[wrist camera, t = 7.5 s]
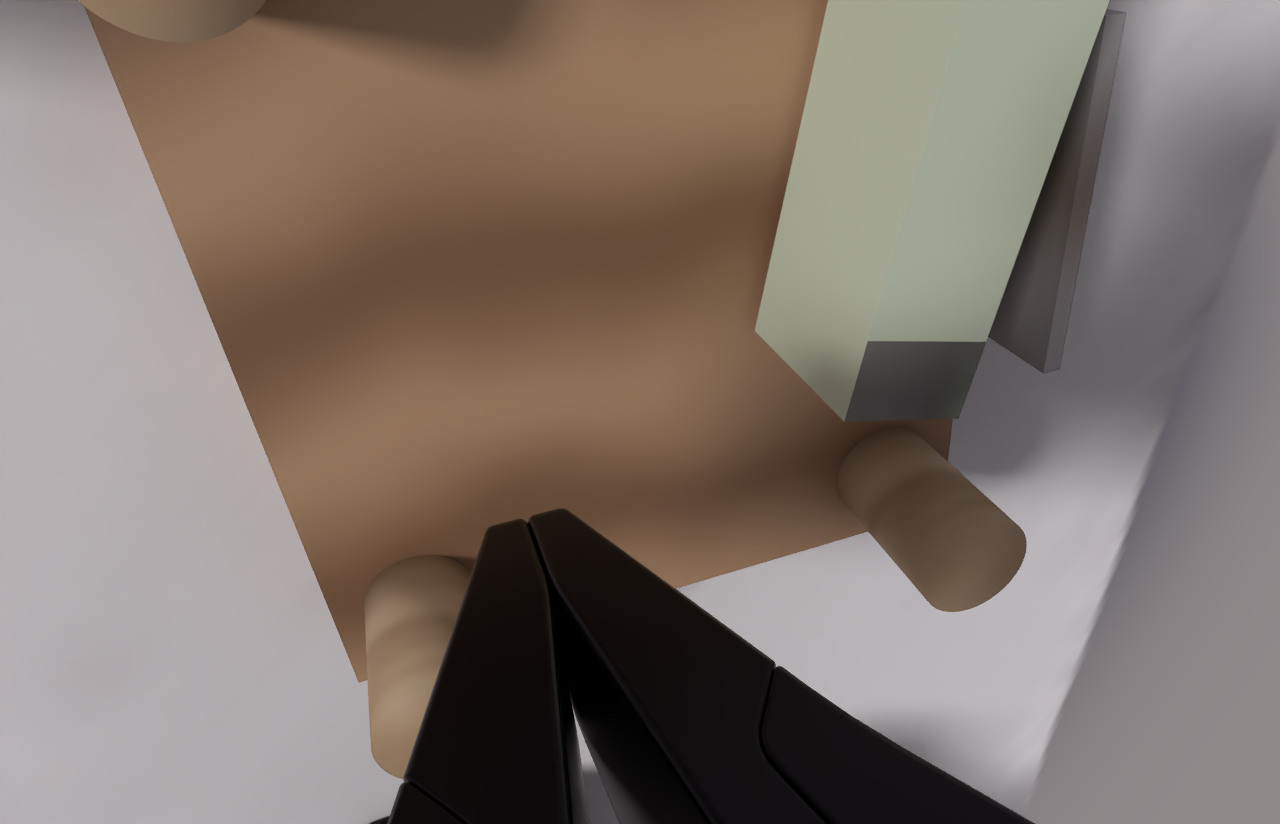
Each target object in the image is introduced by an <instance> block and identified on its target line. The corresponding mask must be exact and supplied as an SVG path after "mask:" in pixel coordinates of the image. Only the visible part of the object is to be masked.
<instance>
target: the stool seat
mask: <svg viewBox="0 0 1280 824" xmlns="http://www.w3.org/2000/svg"><path fill="white" fill-rule="evenodd" d="M77 1H79V2H80V3H81V4H82V5H83V6H84V7H85V9H86V12H87V14H88V16H89V19H90V21H91V24H92V26H93V29H94V31H95V34H96V36H97V39H98V41H99V44H100V46H101V49H102V51H103V53H104V56H105V58H106V61H107V63H108V66H109V68H110V71H111V73H112V76H113V78H114V81H115V83H116V85H117V88H118V90H119V93H120V95H121V98H122V100H123V103H124V105H125V108H126V110H127V113H128V115H129V117H130V120H131V122H132V125H133V127H134V130H135V132H136V135H137V137H138V140H139V142H140V145H141V147H142V150H143V152H144V154H145V157H146V159H147V162H148V164H149V167H150V169H151V172H152V174H153V177H154V179H155V182H156V184H157V186H158V189H159V191H160V194H161V196H162V199H163V201H164V204H165V206H166V209H167V211H168V214H169V216H170V218H171V221H172V223H173V226H174V228H175V231H176V233H177V236H178V238H179V241H180V243H181V246H182V248H183V251H184V253H185V255H186V258H187V260H188V263H189V265H190V268H191V270H192V273H193V275H194V278H195V280H196V283H197V285H198V287H199V290H200V292H201V295H202V297H203V300H204V302H205V305H206V307H207V310H208V312H209V315H210V317H211V319H212V322H213V324H214V327H215V329H216V332H217V334H218V337H219V339H220V342H221V344H222V347H223V349H224V351H225V354H226V356H227V359H228V361H229V364H230V366H231V369H232V371H233V374H234V376H235V379H236V381H237V384H238V386H239V388H240V391H241V393H242V396H243V398H244V401H245V403H246V406H247V408H248V411H249V413H250V416H251V418H252V420H253V423H254V425H255V428H256V430H257V433H258V435H259V438H260V440H261V443H262V445H263V448H264V450H265V452H266V455H267V457H268V460H269V462H270V465H271V467H272V470H273V472H274V475H275V477H276V480H277V482H278V485H279V487H280V489H281V492H282V494H283V497H284V499H285V502H286V504H287V507H288V509H289V512H290V514H291V517H292V519H293V521H294V524H295V526H296V529H297V531H298V534H299V536H300V539H301V541H302V544H303V546H304V549H305V551H306V553H307V556H308V558H309V561H310V563H311V566H312V568H313V571H314V573H315V576H316V578H317V581H318V583H319V586H320V588H321V590H322V593H323V595H324V598H325V600H326V603H327V605H328V608H329V610H330V613H331V615H332V618H333V620H334V622H335V625H336V627H337V630H338V632H339V635H340V637H341V640H342V642H343V645H344V647H345V650H346V652H347V654H348V657H349V659H350V662H351V664H352V667H353V669H354V672H355V674H356V677H357V679H358V682H362V681H365V680H368V696H369V716H370V737H371V751H372V754H373V757H374V759H375V761H376V763H377V764H378V765H379V766H380V767H381V768H382V769H383V770H384V771H386V772H387V773H389V774H391V775H393V776H395V777H398V778H401V779H403V777H404V774H405V771H406V768H407V765H408V762H409V759H410V756H411V753H412V750H413V747H414V744H415V741H416V738H417V735H418V732H419V729H420V726H421V723H422V720H423V717H424V714H425V711H426V708H427V705H428V702H429V699H430V696H431V693H432V690H433V687H434V684H435V681H436V678H437V675H438V672H439V669H440V666H441V663H442V660H443V657H444V654H445V651H446V648H447V645H448V642H449V639H450V636H451V633H452V630H453V627H454V624H455V621H456V618H457V615H458V612H459V609H460V606H461V603H462V600H463V597H464V594H465V591H466V588H467V585H468V582H469V579H470V576H471V573H472V570H473V567H474V564H475V561H476V558H477V555H478V552H479V549H480V546H481V543H482V540H483V537H484V534H485V532H486V530H487V528H488V527H490V526H492V525H495V524H499V523H503V522H507V521H511V520H515V519H520V518H521V519H524V520H525V521H526V522H527V524H528V519H529V517H530V516H532V515H535V514H539V513H542V512H546V511H550V510H554V509H558V508H564V509H567V510H569V511H570V512H571V513H573V514H574V515H576V516H577V517H578V518H580V519H581V520H582V521H584V522H585V523H586V524H588V525H589V526H591V527H592V528H593V529H595V530H596V531H597V532H599V533H600V534H601V535H603V536H604V537H606V538H607V539H608V540H610V541H611V542H612V543H614V544H615V545H616V546H618V547H619V548H620V549H622V550H623V551H625V552H626V553H627V554H629V555H630V556H631V557H633V558H634V559H635V560H637V561H638V562H640V563H641V564H642V565H644V566H645V567H646V568H648V569H649V570H650V571H652V572H653V573H655V574H656V575H657V576H659V577H660V578H661V579H663V580H664V581H665V582H667V583H668V584H669V585H671V586H672V587H674V588H675V589H676V588H679V587H682V586H686V585H689V584H692V583H696V582H699V581H702V580H706V579H709V578H713V577H716V576H719V575H723V574H726V573H729V572H733V571H736V570H740V569H743V568H746V567H750V566H753V565H756V564H760V563H763V562H767V561H770V560H773V559H777V558H780V557H783V556H787V555H790V554H793V553H797V552H800V551H804V550H807V549H810V548H814V547H817V546H820V545H824V544H827V543H831V542H834V541H837V540H841V539H844V538H847V537H851V536H854V535H858V534H861V533H864V532H868V531H869V533H870V534H871V535H872V536H873V537H874V539H875V540H876V541H877V542H878V543H879V544H880V546H881V547H882V548H883V549H884V550H885V551H886V553H887V554H888V555H889V556H890V557H891V558H892V560H893V561H894V562H895V563H896V564H897V566H898V567H899V568H900V569H901V570H902V571H903V573H904V574H905V575H906V576H907V577H908V578H909V580H910V581H911V582H912V583H913V584H914V585H915V587H916V588H917V589H918V590H919V591H920V593H921V594H922V595H923V596H924V597H925V598H926V600H927V601H928V602H929V603H930V604H931V605H932V606H933V607H935V608H936V609H939V610H941V611H946V612H958V611H963V610H967V609H970V608H973V607H976V606H978V605H980V604H982V603H984V602H986V601H987V600H989V599H990V598H992V597H993V596H995V595H996V594H997V593H999V592H1000V591H1001V590H1002V589H1003V588H1004V587H1005V586H1006V585H1007V584H1008V583H1009V582H1010V581H1011V580H1012V578H1013V577H1014V576H1015V574H1016V573H1017V571H1018V570H1019V568H1020V566H1021V564H1022V562H1023V559H1024V556H1025V553H1026V537H1025V534H1024V532H1023V531H1022V529H1021V528H1020V527H1019V526H1018V525H1017V524H1016V523H1015V522H1014V521H1012V520H1011V519H1010V518H1009V517H1008V516H1007V515H1006V514H1005V513H1004V512H1003V511H1002V510H1000V509H999V508H998V507H997V506H996V505H995V504H994V503H993V502H992V501H991V500H989V499H988V498H987V497H986V496H985V495H984V494H983V493H982V492H981V491H980V490H978V489H977V488H976V487H975V486H974V485H973V484H972V483H971V482H970V481H969V480H967V479H966V478H965V477H964V476H963V475H962V474H961V473H960V472H959V471H958V470H956V469H955V468H954V467H953V466H952V465H951V464H950V463H949V462H948V454H949V445H950V436H951V428H952V419H920V420H887V421H853V422H844V421H843V420H842V419H841V418H840V417H839V416H838V415H837V414H836V413H835V412H834V411H833V410H832V409H831V408H830V407H829V406H828V405H827V404H826V403H825V402H824V401H823V400H822V399H821V398H820V397H819V396H818V395H817V394H816V393H815V392H814V391H813V389H812V388H811V387H810V386H809V385H808V384H807V383H806V382H805V381H804V380H803V379H802V378H801V377H800V376H799V375H798V374H797V373H796V372H795V371H794V370H793V369H792V368H791V367H790V366H789V365H788V364H787V363H786V362H785V361H784V360H783V359H782V358H781V357H780V356H779V355H778V354H777V353H776V352H775V351H774V350H773V349H772V348H771V347H770V346H769V345H768V344H767V343H766V342H765V341H764V340H763V339H762V338H761V337H760V336H759V335H758V334H757V333H756V332H755V327H756V322H757V318H758V313H759V309H760V304H761V300H762V295H763V291H764V286H765V282H766V277H767V273H768V268H769V264H770V259H771V255H772V250H773V246H774V241H775V237H776V232H777V228H778V223H779V219H780V214H781V210H782V205H783V201H784V196H785V192H786V187H787V183H788V178H789V174H790V169H791V165H792V160H793V156H794V151H795V147H796V142H797V138H798V133H799V129H800V124H801V120H802V115H803V111H804V107H805V102H806V98H807V93H808V89H809V84H810V80H811V75H812V71H813V66H814V62H815V57H816V53H817V48H818V44H819V39H820V35H821V30H822V26H823V21H824V17H825V12H826V8H827V3H828V0H77ZM1125 16H1126V12H1120V11H1113V10H1106V12H1105V15H1104V17H1103V20H1102V23H1101V26H1100V28H1099V31H1098V34H1097V37H1096V39H1095V42H1094V45H1093V48H1092V50H1091V53H1090V56H1089V59H1088V62H1087V64H1086V67H1085V70H1084V73H1083V75H1082V78H1081V81H1080V84H1079V86H1078V89H1077V92H1076V95H1075V97H1074V100H1073V103H1072V106H1071V108H1070V111H1069V114H1068V117H1067V120H1066V122H1065V125H1064V128H1063V131H1062V133H1061V136H1060V139H1059V142H1058V144H1057V147H1056V150H1055V153H1054V155H1053V158H1052V161H1051V164H1050V167H1049V169H1048V172H1047V175H1046V178H1045V180H1044V183H1043V186H1042V189H1041V191H1040V194H1039V197H1038V200H1037V202H1036V205H1035V208H1034V211H1033V213H1032V216H1031V219H1030V222H1029V225H1028V227H1027V230H1026V233H1025V236H1024V238H1023V241H1022V244H1021V247H1020V249H1019V252H1018V255H1017V258H1016V260H1015V263H1014V266H1013V269H1012V272H1011V274H1010V277H1009V280H1008V283H1007V285H1006V288H1005V291H1004V294H1003V296H1002V299H1001V302H1000V305H999V307H998V310H997V313H996V316H995V318H994V321H993V324H992V327H991V330H990V332H989V335H988V337H990V338H991V339H993V340H994V341H996V342H997V343H999V344H1000V345H1002V346H1003V347H1005V348H1006V349H1008V350H1009V351H1011V352H1012V353H1014V354H1015V355H1017V356H1018V357H1020V358H1021V359H1023V360H1024V361H1026V362H1027V363H1029V364H1030V365H1032V366H1033V367H1035V368H1036V369H1038V370H1039V371H1041V372H1042V373H1047V372H1050V371H1054V370H1058V369H1060V364H1061V358H1062V353H1063V348H1064V342H1065V337H1066V332H1067V326H1068V321H1069V316H1070V310H1071V305H1072V300H1073V294H1074V289H1075V284H1076V278H1077V273H1078V267H1079V262H1080V257H1081V251H1082V246H1083V241H1084V235H1085V230H1086V225H1087V219H1088V214H1089V209H1090V203H1091V198H1092V193H1093V187H1094V182H1095V177H1096V171H1097V166H1098V161H1099V155H1100V150H1101V145H1102V139H1103V134H1104V128H1105V123H1106V118H1107V112H1108V107H1109V102H1110V96H1111V91H1112V86H1113V80H1114V75H1115V70H1116V64H1117V59H1118V54H1119V48H1120V43H1121V38H1122V32H1123V27H1124V22H1125Z"/></svg>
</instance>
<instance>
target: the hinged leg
mask: <svg viewBox="0 0 1280 824" xmlns="http://www.w3.org/2000/svg"><path fill="white" fill-rule="evenodd" d="M1109 1H1110V0H828V3H827V8H826V12H825V17H824V21H823V26H822V30H821V35H820V39H819V44H818V48H817V53H816V57H815V62H814V66H813V71H812V75H811V80H810V84H809V89H808V93H807V98H806V102H805V107H804V111H803V115H802V120H801V124H800V129H799V133H798V138H797V142H796V147H795V151H794V156H793V160H792V165H791V169H790V174H789V178H788V183H787V187H786V192H785V196H784V201H783V205H782V210H781V214H780V219H779V223H778V228H777V232H776V237H775V241H774V246H773V250H772V255H771V259H770V264H769V268H768V273H767V277H766V282H765V286H764V291H763V295H762V300H761V304H760V309H759V313H758V318H757V322H756V327H755V332H756V333H757V334H758V335H759V336H760V337H761V338H762V339H763V340H764V341H765V342H766V343H767V344H768V345H769V346H770V347H771V348H772V349H773V350H774V351H775V352H776V353H777V354H778V355H779V356H780V357H781V358H782V359H783V360H784V361H785V362H786V363H787V364H788V365H789V366H790V367H791V368H792V369H793V370H794V371H795V372H796V373H797V374H798V375H799V376H800V377H801V378H802V379H803V380H804V381H805V382H806V383H807V384H808V385H809V386H810V387H811V388H812V389H813V391H814V392H815V393H816V394H817V395H818V396H819V397H820V398H821V399H822V400H823V401H824V402H825V403H826V404H827V405H828V406H829V407H830V408H831V409H832V410H833V411H834V412H835V413H836V414H837V415H838V416H839V417H840V418H841V419H842V420H843V421H844V422H853V421H887V420H920V419H954V418H959V415H960V412H961V410H962V407H963V404H964V401H965V399H966V396H967V393H968V390H969V388H970V385H971V382H972V379H973V377H974V374H975V371H976V368H977V365H978V363H979V360H980V357H981V354H982V352H983V349H984V346H985V343H986V341H987V338H988V335H989V332H990V330H991V327H992V324H993V321H994V318H995V316H996V313H997V310H998V307H999V305H1000V302H1001V299H1002V296H1003V294H1004V291H1005V288H1006V285H1007V283H1008V280H1009V277H1010V274H1011V272H1012V269H1013V266H1014V263H1015V260H1016V258H1017V255H1018V252H1019V249H1020V247H1021V244H1022V241H1023V238H1024V236H1025V233H1026V230H1027V227H1028V225H1029V222H1030V219H1031V216H1032V213H1033V211H1034V208H1035V205H1036V202H1037V200H1038V197H1039V194H1040V191H1041V189H1042V186H1043V183H1044V180H1045V178H1046V175H1047V172H1048V169H1049V167H1050V164H1051V161H1052V158H1053V155H1054V153H1055V150H1056V147H1057V144H1058V142H1059V139H1060V136H1061V133H1062V131H1063V128H1064V125H1065V122H1066V120H1067V117H1068V114H1069V111H1070V108H1071V106H1072V103H1073V100H1074V97H1075V95H1076V92H1077V89H1078V86H1079V84H1080V81H1081V78H1082V75H1083V73H1084V70H1085V67H1086V64H1087V62H1088V59H1089V56H1090V53H1091V50H1092V48H1093V45H1094V42H1095V39H1096V37H1097V34H1098V31H1099V28H1100V26H1101V23H1102V20H1103V17H1104V15H1105V12H1106V9H1107V6H1108V3H1109Z"/></svg>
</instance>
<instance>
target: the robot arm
mask: <svg viewBox="0 0 1280 824" xmlns="http://www.w3.org/2000/svg"><path fill="white" fill-rule="evenodd" d="M572 706H573V708H572ZM573 709H574V712H575V715H576V719H577V721H578V724H579V726H580V729H581V732H582V734H583V737H584V739H585V742H586V744H587V747H588V749H589V751H590V754H591V756H592V758H593V761H594V763H595V766H596V768H597V770H598V773H599V775H600V777H601V780H602V782H603V785H604V787H605V789H606V792H607V794H608V797H609V799H610V801H611V804H612V806H613V808H614V811H615V813H616V816H617V818H618V820H619V823H620V824H1035V823H1033V822H1031V821H1029V820H1028V819H1026V818H1024V817H1022V816H1021V815H1019V814H1017V813H1016V812H1014V811H1012V810H1010V809H1009V808H1007V807H1005V806H1003V805H1002V804H1000V803H998V802H996V801H995V800H993V799H991V798H990V797H988V796H986V795H984V794H983V793H981V792H979V791H977V790H976V789H974V788H972V787H970V786H969V785H967V784H965V783H964V782H962V781H960V780H958V779H957V778H955V777H953V776H951V775H950V774H948V773H946V772H944V771H943V770H941V769H939V768H938V767H936V766H934V765H932V764H931V763H929V762H927V761H925V760H924V759H922V758H920V757H918V756H917V755H915V754H913V753H912V752H910V751H908V750H906V749H905V748H903V747H901V746H900V745H898V744H896V743H895V742H893V741H891V740H890V739H888V738H887V737H885V736H883V735H882V734H880V733H878V732H877V731H875V730H873V729H872V728H870V727H869V726H867V725H865V724H864V723H862V722H860V721H859V720H857V719H855V718H854V717H852V716H851V715H849V714H848V713H846V712H845V711H843V710H842V709H841V708H839V707H838V706H836V705H835V704H833V703H832V702H830V701H829V700H828V699H826V698H825V697H823V696H822V695H820V694H819V693H817V692H816V691H814V690H813V689H812V688H810V687H809V686H807V685H806V684H805V683H803V682H802V681H800V680H799V679H798V678H796V677H795V676H794V675H792V674H791V673H790V672H788V671H787V670H786V669H784V668H783V667H781V666H778V667H776V664H775V662H774V661H773V660H772V659H770V658H769V657H767V656H766V655H765V654H763V653H762V652H761V651H759V650H758V649H757V648H755V647H754V646H753V645H751V644H750V643H748V642H747V641H746V640H744V639H743V638H742V637H740V636H739V635H738V634H736V633H735V632H733V631H732V630H731V629H729V628H728V627H727V626H725V625H724V624H723V623H721V622H720V621H718V620H717V619H716V618H714V617H713V616H712V615H710V614H709V613H708V612H706V611H705V610H704V609H702V608H701V607H699V606H698V605H697V604H695V603H694V602H693V601H691V600H690V599H689V598H687V597H686V596H684V595H683V594H682V593H680V592H679V591H678V590H676V589H675V588H674V587H672V586H671V585H669V584H668V583H667V582H665V581H664V580H663V579H661V578H660V577H659V576H657V575H656V574H655V573H653V572H652V571H650V570H649V569H648V568H646V567H645V566H644V565H642V564H641V563H640V562H638V561H637V560H635V559H634V558H633V557H631V556H630V555H629V554H627V553H626V552H625V551H623V550H622V549H620V548H619V547H618V546H616V545H615V544H614V543H612V542H611V541H610V540H608V539H607V538H606V537H604V536H603V535H601V534H600V533H599V532H597V531H596V530H595V529H593V528H592V527H591V526H589V525H588V524H586V523H585V522H584V521H582V520H581V519H580V518H578V517H577V516H576V515H574V514H573V513H571V512H570V511H569V510H567V509H564V508H558V509H554V510H550V511H546V512H542V513H539V514H535V515H532V516H530V517H529V519H528V524H527V522H526V521H525V520H524V519H521V518H520V519H515V520H511V521H507V522H503V523H499V524H495V525H492V526H490V527H488V528H487V530H486V532H485V534H484V537H483V540H482V543H481V546H480V549H479V552H478V555H477V558H476V561H475V564H474V567H473V570H472V573H471V576H470V579H469V582H468V585H467V588H466V591H465V594H464V597H463V600H462V603H461V606H460V609H459V612H458V615H457V618H456V621H455V624H454V627H453V630H452V633H451V636H450V639H449V642H448V645H447V648H446V651H445V654H444V657H443V660H442V663H441V666H440V669H439V672H438V675H437V678H436V681H435V684H434V687H433V690H432V693H431V696H430V699H429V702H428V705H427V708H426V711H425V714H424V717H423V720H422V723H421V726H420V729H419V732H418V735H417V738H416V741H415V744H414V747H413V750H412V753H411V756H410V759H409V762H408V765H407V768H406V771H405V774H404V777H403V779H404V783H402V784H401V785H400V787H399V790H398V793H397V796H396V799H395V802H394V805H393V808H392V811H391V814H390V817H389V820H388V821H386V822H383V823H380V824H590V822H589V815H588V808H587V800H586V793H585V786H584V779H583V771H582V764H581V757H580V749H579V742H578V736H577V730H576V724H575V719H574V713H573Z"/></svg>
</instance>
